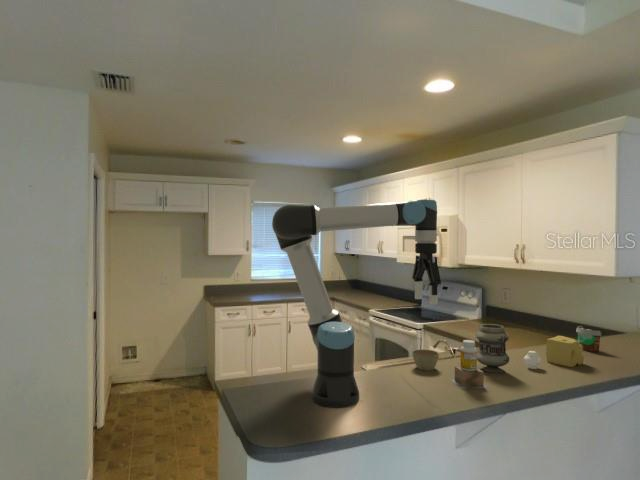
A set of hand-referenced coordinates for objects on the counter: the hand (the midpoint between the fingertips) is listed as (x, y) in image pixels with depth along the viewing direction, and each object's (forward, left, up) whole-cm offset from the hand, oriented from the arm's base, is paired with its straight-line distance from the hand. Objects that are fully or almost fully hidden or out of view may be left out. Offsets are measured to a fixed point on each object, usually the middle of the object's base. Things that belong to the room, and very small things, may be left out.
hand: (425, 301), depth 152 cm
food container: (+92, +33, -29) cm, 102 cm away
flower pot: (+5, +12, -29) cm, 32 cm away
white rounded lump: (+49, +10, -29) cm, 58 cm away
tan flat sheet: (+13, -7, -29) cm, 32 cm away
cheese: (+67, +15, -29) cm, 75 cm away
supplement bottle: (+13, -7, -23) cm, 27 cm away
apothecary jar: (+30, +7, -29) cm, 42 cm away
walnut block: (+13, -7, -28) cm, 31 cm away
